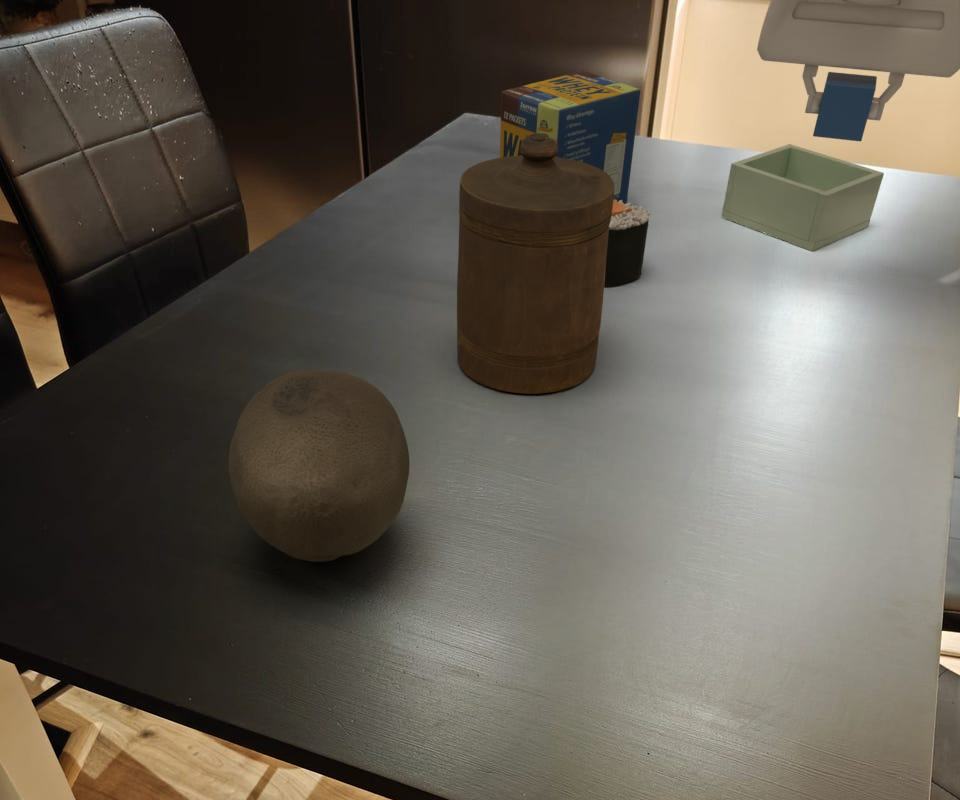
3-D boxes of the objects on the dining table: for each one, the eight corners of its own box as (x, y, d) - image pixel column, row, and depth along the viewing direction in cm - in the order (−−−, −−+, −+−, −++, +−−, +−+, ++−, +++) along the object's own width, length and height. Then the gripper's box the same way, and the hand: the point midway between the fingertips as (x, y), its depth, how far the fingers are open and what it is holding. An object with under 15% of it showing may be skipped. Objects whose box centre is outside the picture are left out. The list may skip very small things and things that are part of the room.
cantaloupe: (207, 562, 75) (165, 396, 65) (322, 478, 84) (301, 319, 73) (342, 631, 70) (321, 462, 59) (450, 534, 78) (449, 371, 68)
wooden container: (620, 352, 101) (648, 130, 86) (549, 411, 92) (566, 175, 77) (506, 315, 107) (513, 101, 92) (429, 367, 98) (422, 140, 83)
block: (862, 128, 102) (877, 76, 99) (861, 141, 99) (875, 88, 95) (816, 123, 103) (828, 71, 100) (812, 136, 100) (825, 83, 96)
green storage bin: (868, 227, 128) (884, 172, 123) (812, 251, 121) (827, 195, 116) (777, 196, 135) (789, 143, 131) (721, 217, 129) (731, 163, 124)
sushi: (605, 292, 112) (612, 224, 106) (560, 268, 117) (565, 201, 111) (654, 276, 115) (663, 209, 110) (608, 253, 120) (616, 188, 114)
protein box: (496, 217, 128) (499, 90, 117) (574, 191, 136) (584, 69, 125) (549, 240, 123) (558, 109, 112) (628, 212, 130) (643, 86, 119)
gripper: (995, -41, 90) (943, 117, 100) (779, -56, 94) (750, 97, 104) (999, -30, 86) (945, 135, 95) (773, -45, 90) (743, 113, 100)
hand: (841, 115), depth 100 cm, fingers closed on block, 5 cm apart
